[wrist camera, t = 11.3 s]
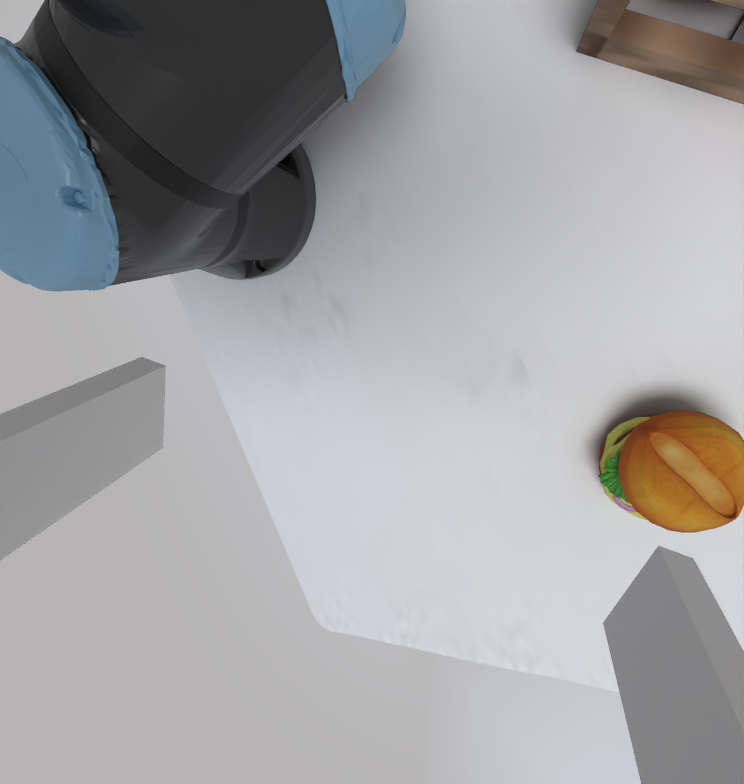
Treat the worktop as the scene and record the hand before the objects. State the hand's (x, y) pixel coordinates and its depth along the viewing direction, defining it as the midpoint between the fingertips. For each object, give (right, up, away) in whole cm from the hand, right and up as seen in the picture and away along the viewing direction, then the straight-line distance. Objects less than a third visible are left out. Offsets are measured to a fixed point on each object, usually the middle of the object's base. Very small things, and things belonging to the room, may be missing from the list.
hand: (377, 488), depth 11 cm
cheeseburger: (+25, -3, +28) cm, 38 cm away
